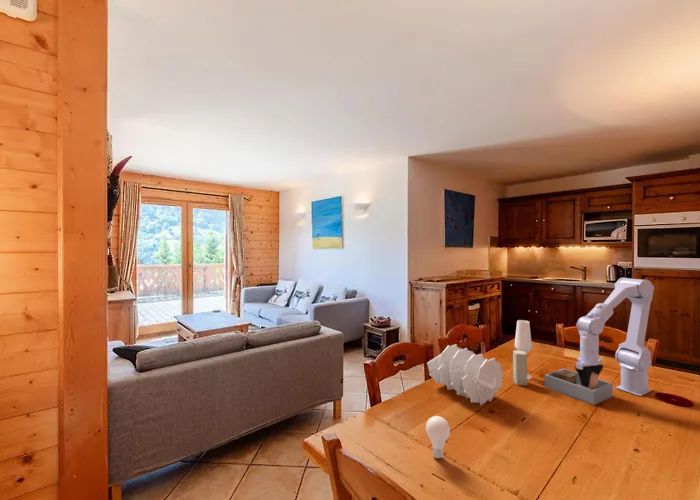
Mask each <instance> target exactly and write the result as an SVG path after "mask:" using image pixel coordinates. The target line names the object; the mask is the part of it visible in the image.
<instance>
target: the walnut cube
mask: <svg viewBox="0 0 700 500" xmlns="http://www.w3.org/2000/svg"><path fill="white" fill-rule="evenodd" d="M556 378H558V379H561V380H564V381H567V382H570V383H573V384H576V374H573V373H569V372H566V371H560V372H557V373H556Z"/></svg>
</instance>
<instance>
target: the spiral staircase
mask: <svg viewBox="0 0 700 500" xmlns="http://www.w3.org/2000/svg"><path fill="white" fill-rule="evenodd" d="M426 365H427V368H428V372H429V373H428V375H429V376H430V377H431V378H432V379H433V380H434V381H435V382H434V383H435V384H441V385H442V384H443V386H444V385H446V386H445V387H447V388H446V389H447V390H449V391H450V390H454V391H456V395H458V396H464V397H465V399H466V400H467V399H468V398H469V399H470V403H479V405H480V406H483V405H484V404H485V403H486V402H487V401H489V402H492V400H493V398H494V396H495V394H496V393H499V390H500V388H502V386H503V381H502V377H503V376H504V371H503V370H502V368H501V366H502V363H500V361H497V360H496V358H495V357H493V358H489V359H487V358H485V357H484V355H483V353H479V354H476V353H474V351H472V350H468V348H467V347H465V348H461V347H458V344H456V343H455V344H452V345H449V344H447V346H446V348H445V349H444V350H443V351H441V352H440V354H439V355H437V356H435V357H434V358H432V359H430V360H429V361H428V362H426Z"/></svg>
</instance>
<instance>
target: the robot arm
mask: <svg viewBox="0 0 700 500" xmlns="http://www.w3.org/2000/svg"><path fill="white" fill-rule="evenodd" d="M654 290H655V286H654V285H653V283H652V282H651V281H650V280H648V279H640V278H630V277H620V278H618V280H617V281H616V282H615V283H614V289H613V290H612V292H611V293H610V295H608V297H606V299H605V300H604V302H601V303H600V302H599V303H596V304H595V305H594V307H593V308H592V309H591V310H590V311H589V312H588V313H587V314H586V315H584V316H581V317H580V318H578V319H577V322H576V323H575V325H576V328H577V331H578V334H579V336H580V337H579V338H580V339H579V341H580V342H579V356H578V357H576V360H577V362H576V363H575V365H574V370H575V372H577V373H578V375H579V378H580V381H581V385H582V386H585V387H589V383H590V377H591V374H592V373H593V372H595V373H597V374H598V377H599V375H600V374H601V372H602V370H603V369H604V365H603V364H602V362H603V361H602V359H603V358H602V357H599V354H600V353H599V352H600V349H599V345H600V344H599V343H600V342H599V341H600V336H599V335H600V334H601V333H602V332H603V331H604V326H605V325H606V322H607V321H608V320H609V319H610V317H612V315H614V308H616V307H617V306H618V305H619V304H620V303H622V302H623V301H624V300H625V299H626V298H627V299H628V300H629V301H630V302H631V309H630V315H629V321H628V327H627V332H626V333H627V334H626V339H625V341H624V342H622V343H619V344H618V348H617V350H616V351H615V355H614V357H615V360H616V362H618V366H620V385H618V386H616V387H615V389H616V390H620V391H623V392H626V393H630V394H632V395H636V396H639V397H642V396H644V395H647V394H648V393H650V392H651V391H652V389H649V373H648V370H649V369H650V368H651V366H652V358H651V357H652V356H651V354H652V352H651V351H650V350H649V349H648V348H647V347H646V346H645V339H646V333H647V328H648V321H649V315H650V309H651V302H652V301H653V298H654V297H653V296H654Z"/></svg>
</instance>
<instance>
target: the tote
mask: <svg viewBox="0 0 700 500" xmlns="http://www.w3.org/2000/svg"><path fill="white" fill-rule="evenodd" d="M560 371H566V372H569V373H573V374H576V384H573V383H570V382H567V381H564V380H561V379H558V378H556V373H557V372H560ZM544 387H545V388H546V389H549V390H552V391H555V392H558V393H560V394H563V395H565V396H568V397H570V398H573V399H576V400H579V401H581V402H584V403H587V404H589V405H591V406H595V405H598V404H600V403H602V402H605V401H606V400H608V399H611V398H613V393H614V392H613V389H614V388H613V387H614V386H613V383H612V382H608V381H605V380H603V379H599V378H598V388H597V389H594V390H590V389H588V388H585V387H582V386H581V381H580V378H579V375H578V373H577V371H574V370H570V369H567V368H560V369H557V370H555V371H552V372H547V373H545V374H544Z"/></svg>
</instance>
